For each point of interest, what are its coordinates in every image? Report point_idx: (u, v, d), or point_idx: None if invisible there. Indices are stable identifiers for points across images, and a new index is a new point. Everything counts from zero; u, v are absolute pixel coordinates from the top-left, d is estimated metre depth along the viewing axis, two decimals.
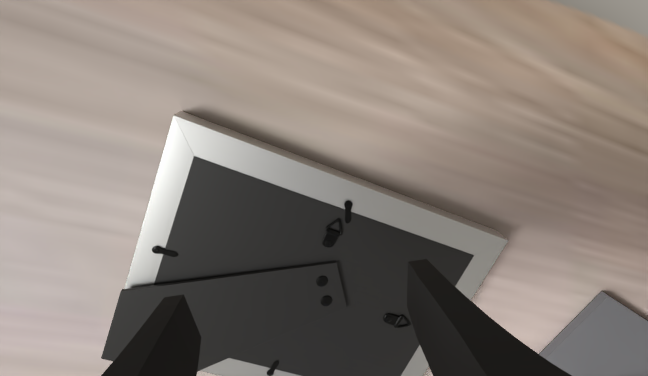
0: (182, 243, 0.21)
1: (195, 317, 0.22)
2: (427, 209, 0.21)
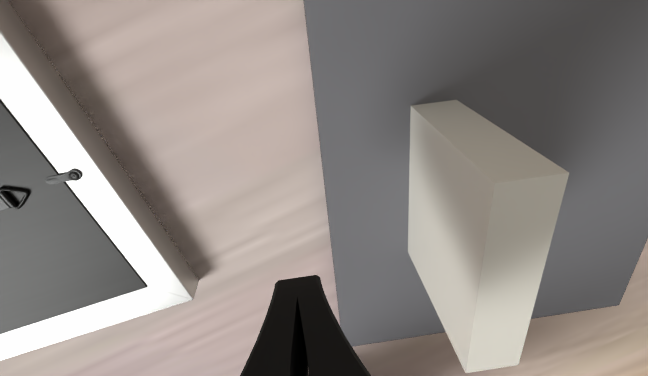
0: None
1: None
2: None
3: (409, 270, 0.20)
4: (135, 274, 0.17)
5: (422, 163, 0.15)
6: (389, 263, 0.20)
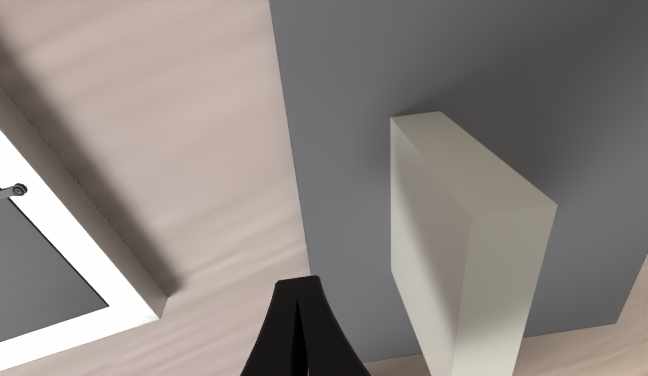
0: None
1: None
2: None
3: (393, 289, 0.19)
4: (95, 294, 0.16)
5: (402, 181, 0.14)
6: (371, 282, 0.18)
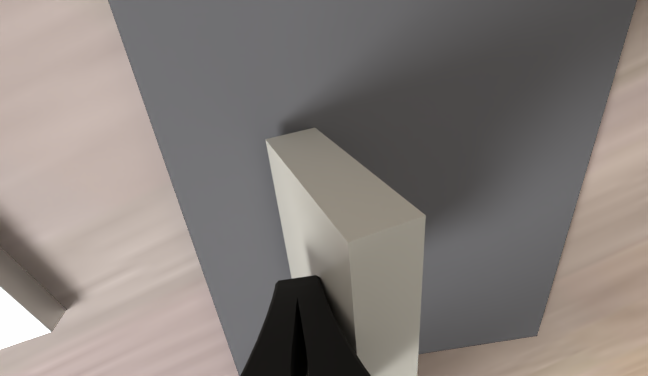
0: None
1: None
2: None
3: None
4: None
5: (286, 204, 0.13)
6: None
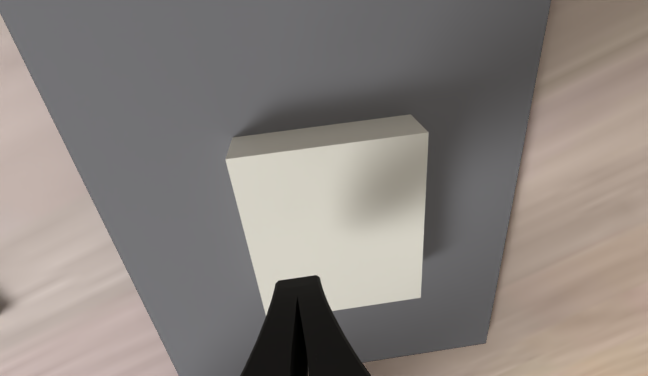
0: None
1: None
2: None
3: (234, 312, 0.18)
4: None
5: (283, 201, 0.13)
6: (209, 306, 0.18)
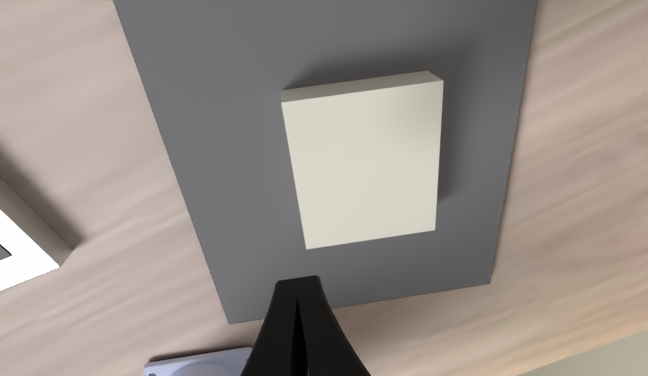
0: None
1: None
2: None
3: (274, 250, 0.22)
4: None
5: (324, 140, 0.16)
6: (253, 243, 0.21)
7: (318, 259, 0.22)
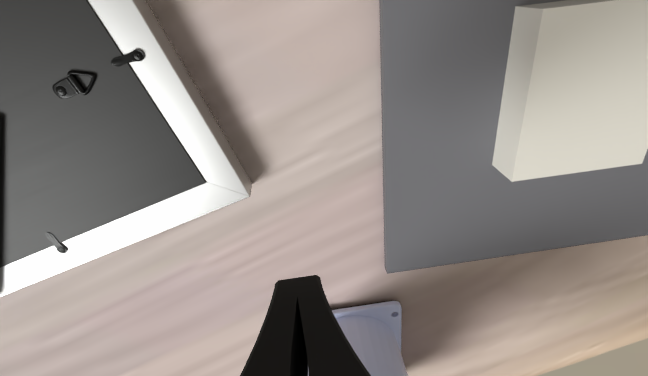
0: None
1: None
2: None
3: (455, 190, 0.21)
4: (195, 168, 0.18)
5: (570, 55, 0.16)
6: (437, 182, 0.20)
7: (495, 201, 0.22)
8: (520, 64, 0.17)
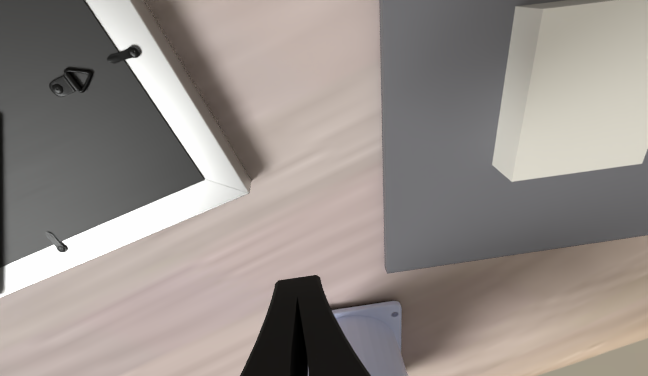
0: None
1: None
2: None
3: (455, 190, 0.21)
4: (193, 166, 0.18)
5: (570, 55, 0.16)
6: (437, 182, 0.20)
7: (495, 201, 0.22)
8: (520, 64, 0.17)
